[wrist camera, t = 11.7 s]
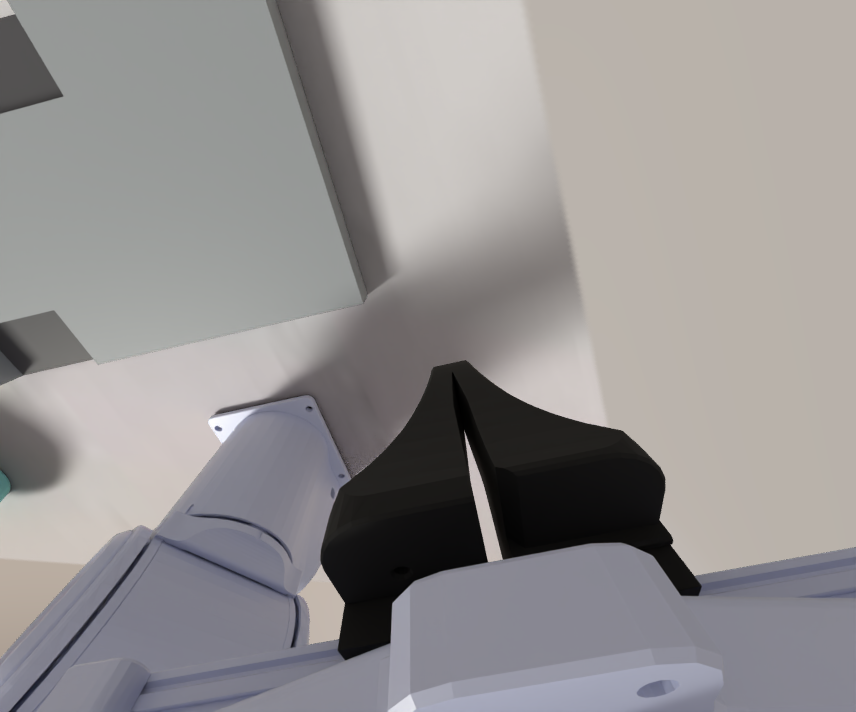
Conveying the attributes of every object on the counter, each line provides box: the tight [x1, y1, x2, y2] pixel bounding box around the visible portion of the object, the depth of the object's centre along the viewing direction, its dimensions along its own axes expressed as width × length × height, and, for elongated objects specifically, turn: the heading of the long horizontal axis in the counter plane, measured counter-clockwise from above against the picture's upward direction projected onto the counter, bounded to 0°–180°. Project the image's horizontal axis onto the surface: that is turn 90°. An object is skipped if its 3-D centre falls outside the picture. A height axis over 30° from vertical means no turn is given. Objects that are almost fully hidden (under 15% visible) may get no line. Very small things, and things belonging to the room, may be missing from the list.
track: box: [0, 0, 368, 385], centre depth 15 cm, size 15×31×3 cm, turn 102°
